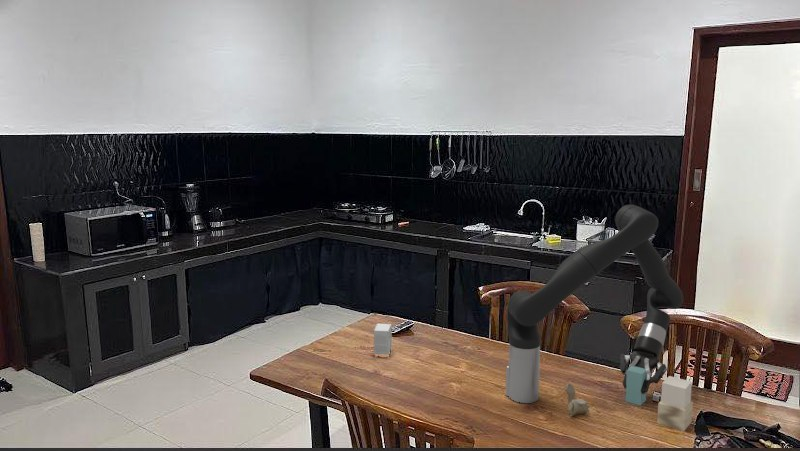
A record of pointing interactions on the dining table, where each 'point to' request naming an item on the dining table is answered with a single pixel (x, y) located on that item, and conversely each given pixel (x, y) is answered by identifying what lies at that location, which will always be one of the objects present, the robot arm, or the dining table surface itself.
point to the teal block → (635, 385)
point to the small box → (382, 338)
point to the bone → (575, 402)
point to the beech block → (674, 416)
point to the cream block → (676, 392)
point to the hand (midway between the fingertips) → (634, 390)
